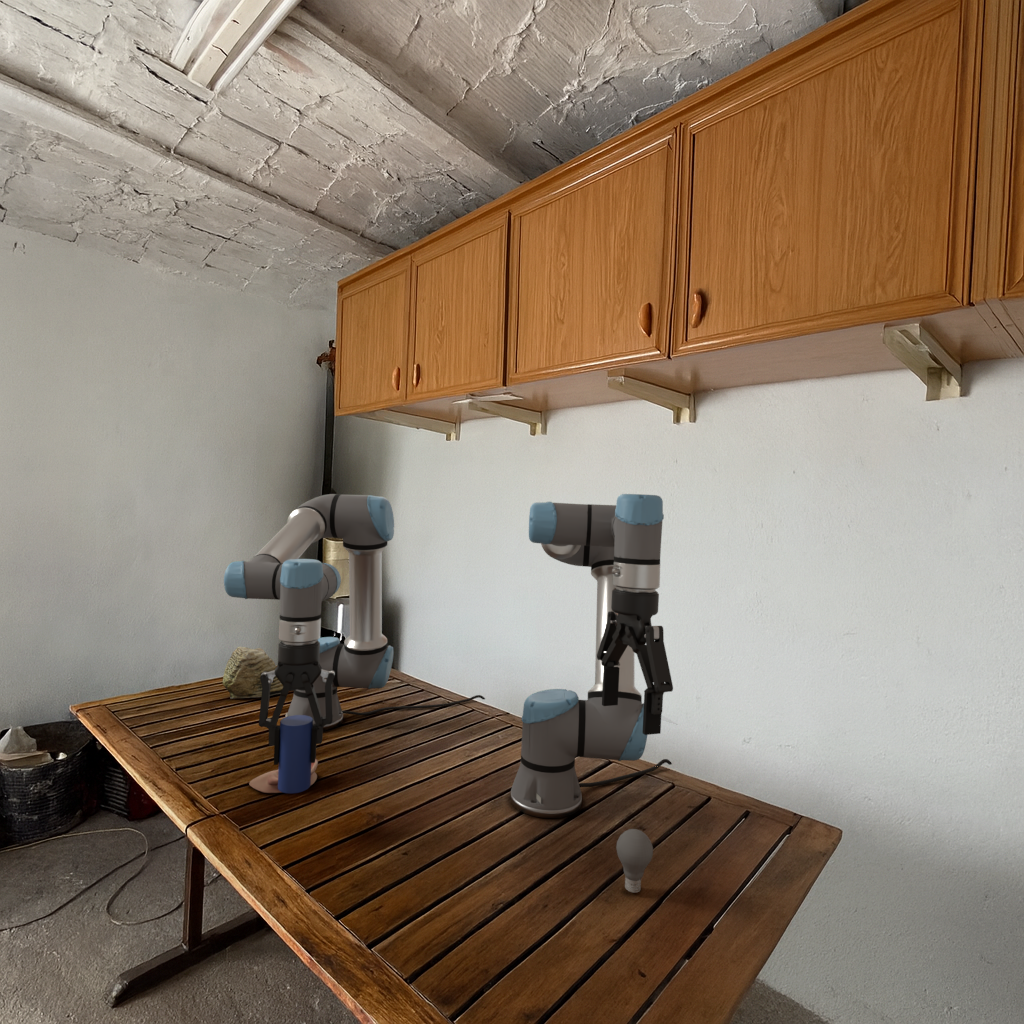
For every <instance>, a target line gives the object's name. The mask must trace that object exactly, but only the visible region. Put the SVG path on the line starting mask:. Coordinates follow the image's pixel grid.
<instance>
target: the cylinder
mask: <svg viewBox="0 0 1024 1024" xmlns="http://www.w3.org/2000/svg"><path fill="white" fill-rule="evenodd" d="M279 725H280V741H279V763H278V769H277V770H278V790H279V791H281V792H280V793H283V794H299V793H302V792H305V791H307V790H309V788H311V786H312V785H311V743H312V727H313V718H312V717H310V716H306V715H294V716H288V717H286V716H285V717H283V718H281V720H279ZM310 785H311V786H310Z"/></svg>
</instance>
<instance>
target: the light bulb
mask: <svg viewBox="0 0 1024 1024" xmlns="http://www.w3.org/2000/svg"><path fill="white" fill-rule="evenodd" d="M615 849H616V854H617V857H618V859H619V861H620V863H621V865H622V867H623V873H624V874H623V875H624V876H625V878H624V888H625V890H627V891H628V892H630V893H634V894H635V893H639V892H640V891H641V889H642V887H641V886H642V879H643V877H644V875H645V871H646V868H647V867H648V866H649V864H650V863H651V861H652V859H653V855H654V847H653V843H652V841H651V838H649V836H648V835H647V834H646V833H645V832H643V831H642V830H641V829H636V828H629V829H627V830H625V831H623V832H622V833H621V834H620V835H619V837H618V839H617V841H616V847H615Z"/></svg>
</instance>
